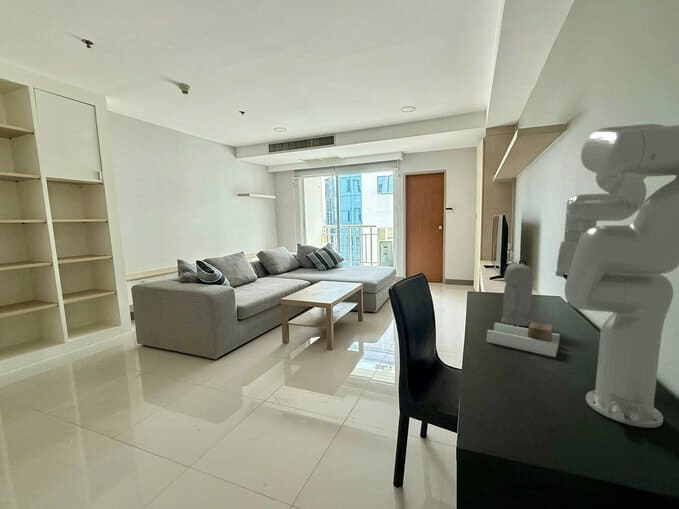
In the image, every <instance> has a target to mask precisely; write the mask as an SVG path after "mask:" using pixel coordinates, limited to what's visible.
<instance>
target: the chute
mask: <svg viewBox="0 0 679 509" xmlns="http://www.w3.org/2000/svg"><path fill="white" fill-rule="evenodd" d="M493 324H494V325H493V329H492V330H491V329H487V331H486V342H487V343H491V344H495V345H498V346H504V347H509V348H512V349H517V350H522V351H526V352H531V353H535V354H538V355H544V356H549V357H551V358H552V357H553V358H556V356H557V354H558V350H559V345H560V334H559V333H553V332H552V339H551V342H547V341H542V340H537V339H532V338H528V328H527V327H519V326H514V325H509V324H504V323H500V322H494V323H493Z"/></svg>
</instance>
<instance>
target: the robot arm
mask: <svg viewBox="0 0 679 509" xmlns="http://www.w3.org/2000/svg"><path fill="white" fill-rule="evenodd" d="M580 158H581V159H580V161H581V163H582V166H583V167H584V168H586V169H587V170H588V171H590V172H592V173H595V182H596V184H597V185H598V187H599V188H600V189H601V190H603V191H604V192H606V193H586V194H577V195H575V196H573V197H570V198H569V199H568V200H567V202H566V211H565V212H566V213H565V224H564V236H563V237H564V238H563V241H561V242H560V245H559V251H558V255H557V260H556V272H555V276H557V277H560V278H564V279H565V285H564V296H565V299H566V301H567V302H568V304H569V305H570V306H572V307H573V308H575V309H579V310H583V311H590V312H591V311H593V312H606V313H607V312H608V313H612V314H611V315H610V316H609V317H608V318H607V319H606V320H605V321H604V323H603V324H602V326H601V329H600V333H599V343H598V355H597V365H596V366H597V367H596V379H595V389H594V390H591V391H588V392H587V393H586V394H585V400H586V403H587V405H589V406H590V407H591V408H592V410H594V411H596V413H597V412H598V413H599V414H600V415H602V416H605V417H606V418H609V419H611V420H614V421H617V422H619V423H622V424H626V425H629V426H633V427H638V428H645V429H646V428H650V429H653V428H658V427H661V426H662V425H663V422H664V416H663V414H662V413H661V412H660V411H659V410H658V409H657V408H655V407H654V406H655V398H656V397H655V395H656V388H657V387H656V386H657V377H658V369H659V368H658V367H659V359H660V358H659V357H660V351H661V350H660V349H661V341H662V335H663V329H664V324H665V321H666V318H667V315H668V311H669V310H670V307H671V304H672V301H673V299H674V298H673V297H674V287H673V284H672V283H671V281H670V280H669V279H668V278H667V277H666V276H664V275H663V274H667V273H671V272H673V271H675V270H676V269H677V268H678V267H679V124H675V125H662V124H656V123H646V124H645V123H644V124H633V125H622V126H609V127H602V128H600V129H596V130H595V131H594V132H592V133H591V134H590V135H589V136H588V137H587V139H586V140H585V142H584V144H583V146H582V149H581V155H580ZM668 176H675V177H674V179H673V180H671V181H670V182H668V183H666V184H665V185H663V186H661V187H660V188H658V189H657V190H655V191H654V192H653V193H651V195H650V196H648V197H647V185H646V183H645V181H644V180H645V179H646V178H647V177H668ZM636 212H638V213H637V216H636V217H635V218H634V219H635V220H633V222H632V223H630V224H626V225H625V224H624V225H597V223H598V222H604V221H605V222H607V221H608V222H609V221H611V222H612V221H613V222H616V221H617V222H619V221H624V220H627V219H629V218H630V217H632V216H633V215H634V214H635V213H636Z"/></svg>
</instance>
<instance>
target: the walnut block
mask: <svg viewBox="0 0 679 509" xmlns="http://www.w3.org/2000/svg"><path fill="white" fill-rule="evenodd" d="M527 327H528V338H532V339H537V340H542V341H547V342H551V339H552V333H553V324H546V323H542V322H536V321H531V324H530V325H528V326H527Z"/></svg>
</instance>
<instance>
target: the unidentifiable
mask: <svg viewBox="0 0 679 509" xmlns="http://www.w3.org/2000/svg"><path fill="white" fill-rule="evenodd" d="M533 274H534V273H533V269H531V267H530V266H528V265H526V264H523V263H511V264H509V265H507V267H506V269H505V272H504V276H503V281H504V282H505V286H504V290H503V307H502V308H503V310H502V312H503V314H502V318H501V319H500V322H501V323H502V322H503V323H502V324H504V323H505V324H506V325H509V324H510V325H511V326H514V325H516V326H517V327H519V326H527V325H528V326H529V324H530V323H531V322H532V319H531V318H530V317H529V314H531V311H532V303H533V302H532V300H533V286H532V285H533V281H534V277H533ZM528 326H527V327H528Z"/></svg>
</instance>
